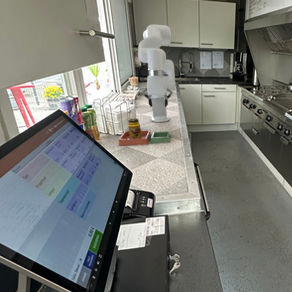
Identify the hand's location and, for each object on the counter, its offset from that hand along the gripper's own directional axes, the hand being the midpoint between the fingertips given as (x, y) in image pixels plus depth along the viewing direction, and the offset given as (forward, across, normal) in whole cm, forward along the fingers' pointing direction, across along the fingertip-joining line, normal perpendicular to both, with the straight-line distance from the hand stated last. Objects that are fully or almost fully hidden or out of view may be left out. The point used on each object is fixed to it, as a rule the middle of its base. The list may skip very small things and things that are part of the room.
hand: (158, 106), depth 132 cm
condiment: (+20, +14, -1) cm, 24 cm away
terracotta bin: (+20, +14, -1) cm, 24 cm away
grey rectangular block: (+5, 0, 0) cm, 5 cm away
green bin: (+20, 0, 0) cm, 20 cm away
